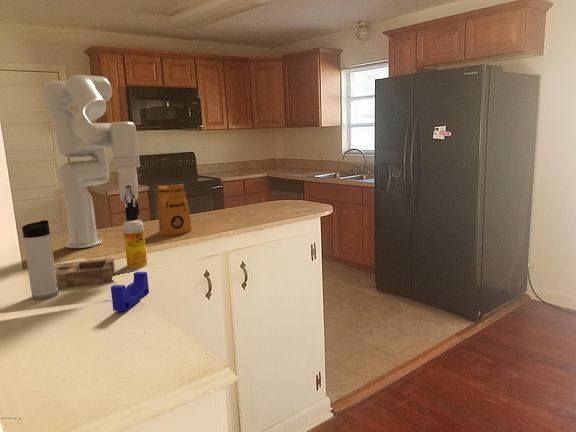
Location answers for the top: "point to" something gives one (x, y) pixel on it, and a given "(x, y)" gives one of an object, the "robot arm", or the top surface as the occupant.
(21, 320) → the top surface
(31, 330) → the top surface
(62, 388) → the top surface
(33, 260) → the travel mug
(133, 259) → the beer can
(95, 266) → the brown wooden slotted block
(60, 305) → the top surface
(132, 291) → the cable clip
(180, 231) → the coffee package
